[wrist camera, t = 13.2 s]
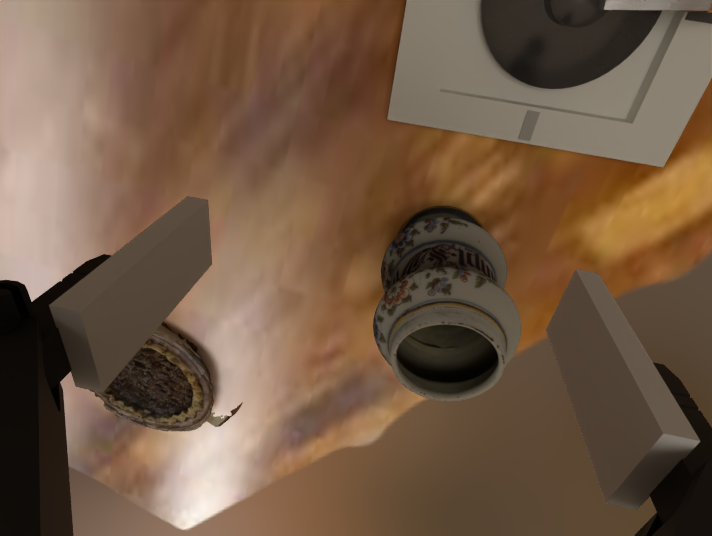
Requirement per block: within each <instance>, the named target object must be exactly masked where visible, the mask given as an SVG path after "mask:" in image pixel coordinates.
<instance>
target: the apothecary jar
mask: <svg viewBox="0 0 712 536" xmlns="http://www.w3.org/2000/svg"><path fill="white" fill-rule="evenodd" d="M506 277H507V266H506V261H505V257H504V254H503V252H502V250H501V248H500V246H499V244H498V243H497V242H496V240H495V239H494V238H493V237H492V236H491V235H490V234H489V233H488V232H486V231H485V230H484V229H483V227H482V225H481V224H480V223H479V221H478V220H477V219H476V218H475V217H473V216H472V215H471V214H469V213H468V212H466V211H464V210H462V209H459V208H455V207H450V206H439V207H431V208H427V209H425V210H422V211H420V212H418V213H416V214H415V215H413V216H412V217H411V218H410V219H408V220H407V221H406V222H405V224H404V225H403V226H402V228H401V230H400V232H399V234H398V236H397V237H396V238H395V239H394V240H393V242H392V243H391V244H390V246H389V248H388V249H387V251H386V253H385V256H384V259H383V262H382V267H381V279H382V284H383V288H384V290H385V294H384V296H383V297H382V299H381V300H380V302H379V304H378V306H377V309H376V312H375V315H374V323H373V329H374V337H375V340H376V343H377V346H378V348H379V350H380V352H381V354H382V355H383V357H384V358H385V360H386V361H387V362H388V363H389V364H390V365H391V366H392V369H393V371H394V373H395V375H396V377H397V378H398V380H399V381H400V382H401V383H402V384H403V385H404V386H405V387H406V388H408V389H409V390H411V391H412V392H414V393H416V394H418V395H420V396H423V397H425V398H429V399H433V400H438V401H458V400H464V399H468V398H471V397H475V396H477V395H479V394H481V393H483V392H485V391H487V390H489V389H490V388H491V387H493V386H494V385H495V384H496V383H497V381H498V380H499V379H500V377H501V375H502V373H503V370H504V367H505V365H506V364H507V363H508V362H509V361H510V359H511V358H512V357H513V355H514V353H515V351H516V349H517V347H518V344H519V341H520V335H521V323H520V317H519V314H518V311H517V308H516V306H515V304H514V302H513V300H512V299H511V297H510V296H509V294H508V293H507V292H506V291H505V290H504V286H505V283H506Z"/></svg>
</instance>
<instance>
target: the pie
mask: <svg viewBox="0 0 712 536" xmlns="http://www.w3.org/2000/svg"><path fill="white" fill-rule="evenodd" d="M196 351H197V347H196V346H195V345H194V344H193V343H191V342H189V341H188V340H185V339H184V338H182V337H181V335H180V334H174V333H173V332H172V331H171V330H170V329H169V328H168V327H167V325H166V324H165V323H164V322H162V324H161V325H160V326H159V327H158V328H157V330H156V331H155V332H154V333H153V334H152V335H151V337H150V338H149V339H148V340H147V341H146V342H145V344H144V345H143V346H142V347H141V348H140V350H139V351H138V352H137V353H136V354H135V355H134V357H133V358H132V359H131V360H130V361H129V363H128V364H127V365H126V366H125V367H124V368H123V370H122V371H121V372H120V373H119V374H118V376H117V377H116V378H115V379H114V380H113V381H112V383H111V384H110V385H109V386H108V387H107V389H106V390H105V391H104V392H98V391H93V390H90V391H92V392H95V396H96V397H98V396H99V397H100V398H101V399H102V400H103V401H104V403H105V404H104V406H105V408H106V409H108V410H110V411H112V412H114V413H116V416H118V417H120V418H125V420H127V419H129V421H130V422H131V423H134V424H136V425H140V426H143V427H149V428H153V429H157V430H162V431H192V430H195V429H197V428H199V427H201V426H202V424H203V423H205V422H206V421H208V422H209V423H211V424H212V425H214V426H215V427H218V426H221V425H222V424H223V423H225V422H226V421H227V420H228V419H229V418H230V417H231V416H233V415H234V414H235V413H236V412H237V411H238V409H239V408H240V407H241V405H242V403H243V402H242V403H241V404H240V405H239V406H238V407H237V408H236V409H234V410H232V411H231V413H232V415H231V416H224V418H222V419H221V418H220V416H219V417H213V415H214V414H215V413H211V410H212V406H213V402H214V400H213V395H212V394H213V393H212V389H213V385H212V383H211V380H210V373H209V371H208V369H207V367H206V365H205V364H204V362H203V360H202V359H201V358H200V357H199V356H198V355H197V354H196ZM221 417H223V416H222V415H221Z"/></svg>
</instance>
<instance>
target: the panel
mask: <svg viewBox="0 0 712 536" xmlns="http://www.w3.org/2000/svg"><path fill="white" fill-rule="evenodd" d="M480 1H481V0H407V3H406V9H405V15H404V21H403V27H402V33H401V39H400V45H399V51H398V57H397V63H396V69H395V75H394V81H393V87H392V94H391V100H390V106H389V112H388V118H387V120H392V121H398V122H404V123H410V124H415V125H421V126H427V127H433V128H439V129H444V130H450V131H456V132H462V133H468V134H473V135H479V136H485V137H491V138H497V139H502V140H508V141H514V142H520V143H526V144H531V145H537V146H543V147H549V148H555V149H560V150H566V151H572V152H578V153H584V154H589V155H595V156H601V157H607V158H613V159H619V160H624V161H630V162H636V163H642V164H648V165H653V166H659V167H664V165H665V163H666V161H667V160H668V158H669V156H670V154H671V152H672V150H673V148H674V147H675V145H676V143H677V141H678V139H679V137H680V135H681V134H682V132H683V130H684V128H685V126H686V124H687V123H688V121H689V119H690V117H691V115H692V113H693V111H694V110H695V108H696V106H697V104H698V102H699V100H700V98H701V97H702V95H703V93H704V91H705V89H706V87H707V85H708V84H709V82H710V80H711V78H712V13H708V12H681V10H662V12H661V14H660V16H659V18H658V20H657V22H656V24H655V25H654V27H653V28H652V30H651V31H650V33H649V34H648V36H647V37H646V38H645V39H644V41H643V42H642V43H641V44H640V46H639V47H638V48H637V49H636V50H635V51H634V52H633V53H632V54H631V55H630V56H629V57H628V58H627V59H625V60H624V61H623V62H622V63H621V64H620V65H618V66H617V67H615V68H614V69H612V70H611V71H610V72H608V73H606V74H604V75H603V76H601V77H599V78H597V79H595V80H593V81H590V82H588V83H585V84H582V85H578V86H575V87H570V88H564V89H545V88H538V87H534V86H530V85H528V84H525V83H523V82H521V81H519V80H517V79H516V78H514V77H512V76H511V75H510V74H509V73H508V72H506V71H505V70H504V69H503V68H502V67H501V66H500V65H499V64H498V62H497V61H496V60H495V58H494V57H493V55H492V54H491V52H490V50H489V48H488V46H487V44H486V42H485V38H484V35H483V32H482V26H481V20H480Z"/></svg>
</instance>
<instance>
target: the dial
mask: <svg viewBox="0 0 712 536" xmlns="http://www.w3.org/2000/svg"><path fill="white" fill-rule="evenodd" d="M662 10H681V12H708V13H712V0H481V1H480V20H481V26H482V32H483V35H484V38H485V42H486V44H487V46H488V48H489V50H490V52H491V54H492V55H493V57H494V58H495V60H496V61H497V62H498V64H499V65H500V66H501V67H502V68H503V69H504V70H505V71H506V72H508V73H509V74H510V75H511V76H512V77H514V78H516V79H517V80H519V81H521V82H523V83H525V84H528V85H530V86H534V87H538V88H545V89H564V88H570V87H575V86H578V85H582V84H585V83H588V82H590V81H593V80H595V79H597V78H599V77H601V76H603V75H604V74H606V73H608V72H610V71H611V70H612V69H614V68H615V67H617V66H618V65H620V64H621V63H622V62H623V61H624V60H625V59H627V58H628V57H629V56H630V55H631V54H632V53H633V52H634V51H635V50H636V49H637V48H638V47H639V46H640V44H641V43H642V42H643V41H644V39H645V38H646V37H647V36H648V34H649V33H650V31H651V30H652V28H653V27H654V25H655V24H656V22H657V20H658V18H659V16H660V14H661V12H662Z"/></svg>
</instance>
